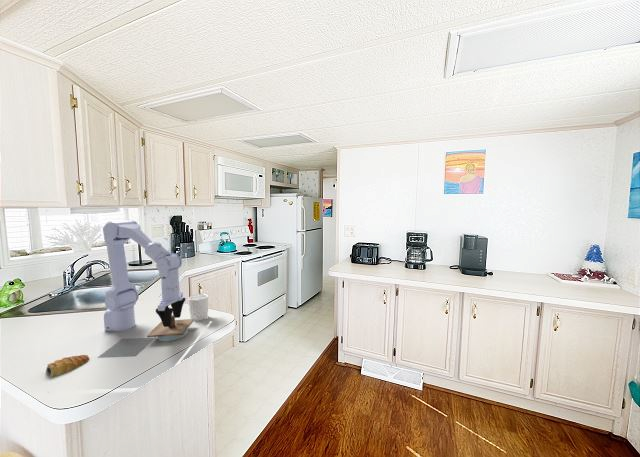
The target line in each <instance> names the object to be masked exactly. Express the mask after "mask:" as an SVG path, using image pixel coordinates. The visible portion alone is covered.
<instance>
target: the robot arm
mask: <svg viewBox="0 0 640 457" xmlns="http://www.w3.org/2000/svg"><path fill="white" fill-rule="evenodd" d="M141 228H142V227H141V224H139V223H138V222H137V221H136V220H132V219H131V220H122V221H107V222H106V224H105V225H104V226H103V227H102V233H103V239H104V243H105V244H106V250H107V257H108V266H109V270H110V277H111V284H112V285H111V286H110V287H109V288H108V289H107V290H106V291H105V300H104V305H105V307H106V308H107V309H106V310H105V312H104V315H103V323H104V324H103V327H104V331H105V332H106V331H111V332H113V331H114V332H123V331H126V330H130V329H132V328H134V327H135V326H136V316H135V305H137V301H138V300H139V297H140V295H139V292H138V290H137V288H136V287H137V286H136V284H133V283H132V282H130V280H129V272H128V264H127V259H126V253H125V243H127V242H128V241H129V240H133V241H134V242H135V243H136V244H138V245H139V246H141V247H142V248H143V249H144V254H145V255H146V256H148V258H150V259H151V260H152V261H153V262H154V263H155V267H156V269H157V270H158V273H159V276H160V279H161V280H160V281H161V282H160V283H161V298H162V299H161V300H160V303H159V304H157V308H155V314H156V315H158V317H159V319H160V320H161V322H162V323H163V326H164V327H170V325H171V317H172V315H174V316H175V319H177V318H180V317H181V315H182V310H183V307H184V304H185V302H186V297H183V296H184V294H183V291H180V278H179V274H180V273H179V268H181V266H182V258H181V256H179V254H177V253H172V252H170V251H169V250H167V249H166V248H165V247H164V246H163V245H162V243H160V242H156V241H155V242H153V241H152V240H151V239H150V238H149V237H148V236H147V235H146V233H145V232H143V231H142V229H141ZM169 306H171V307H169Z"/></svg>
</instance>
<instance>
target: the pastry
mask: <svg viewBox="0 0 640 457" xmlns="http://www.w3.org/2000/svg"><path fill="white" fill-rule="evenodd" d="M89 361H90V357H89V355H86V354H81V355H74V356H73V355H72V356H69V357H62V358H61V359H56V360H54V361H53V362H50V363H48V364H47V366H46V370H45V371H46V372H47V373H49V374H50V375H49V377H50V378H53V377H57V376H61V375H64V374H66V373H68V372H70V371H73V370H74V369H76V368H78V367H80V366H83V365H84V364H86V363H87V362H89Z"/></svg>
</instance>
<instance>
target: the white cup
mask: <svg viewBox="0 0 640 457" xmlns="http://www.w3.org/2000/svg"><path fill="white" fill-rule="evenodd" d="M187 299H188V305H189V306H188V307H189V315H190V316H189V317H190V319H194V321H196V322H197V321H202V320H207V319H208V317H209V313H208V312H209V295H208V294H205V293H198V294H194V295H191V296H189V297H188V298H187ZM194 321H193V322H194Z"/></svg>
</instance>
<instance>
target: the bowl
mask: <svg viewBox="0 0 640 457" xmlns="http://www.w3.org/2000/svg"><path fill="white" fill-rule="evenodd" d="M188 333H189V328H188V329H187V330H186V331H185V333H184V334H183V335H173V336H160V337H157V340H158V341H160V342H172V341H175V340H179V339H182V338H183V337H185V336H186V335H187V334H188Z"/></svg>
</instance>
